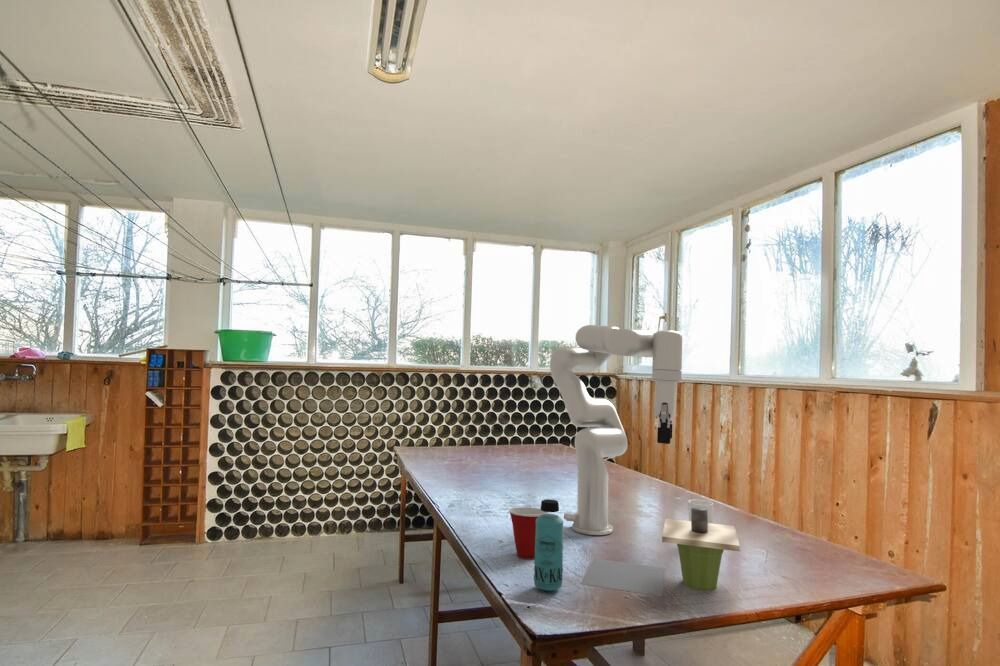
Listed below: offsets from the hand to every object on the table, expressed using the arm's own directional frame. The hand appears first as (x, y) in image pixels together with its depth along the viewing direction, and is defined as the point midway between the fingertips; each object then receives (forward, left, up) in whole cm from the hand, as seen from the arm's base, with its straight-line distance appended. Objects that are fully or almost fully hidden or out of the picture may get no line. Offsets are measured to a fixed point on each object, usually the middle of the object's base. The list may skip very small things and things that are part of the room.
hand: (664, 440), depth 141 cm
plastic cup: (-35, -10, -32) cm, 48 cm away
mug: (+9, +20, -32) cm, 38 cm away
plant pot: (+8, -14, -32) cm, 36 cm away
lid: (+8, -14, -20) cm, 26 cm away
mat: (-9, -16, -31) cm, 36 cm away
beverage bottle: (-24, -31, -31) cm, 50 cm away
